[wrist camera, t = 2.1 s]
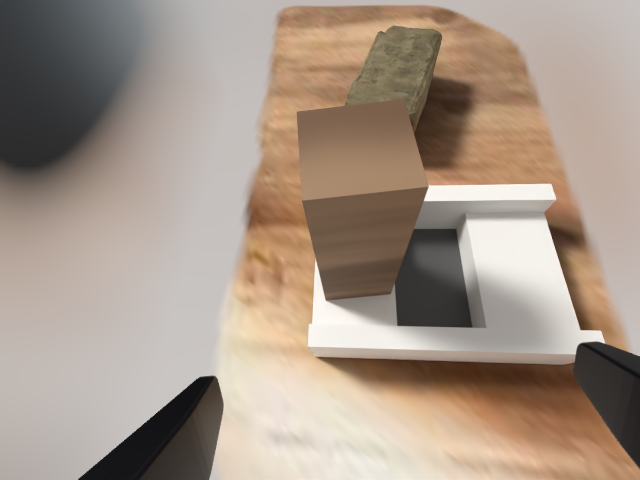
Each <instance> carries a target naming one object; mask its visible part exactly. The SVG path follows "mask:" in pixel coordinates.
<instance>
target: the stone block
mask: <svg viewBox="0 0 640 480" xmlns="http://www.w3.org/2000/svg"><path fill="white" fill-rule="evenodd" d="M441 40H442V35H441V33H440V32H438V31H437V30H434V29H419V28H406V27H400V26H392V27H390V28H389V29H388V30H387V31H386V32H385V33H384V32H382V31H380V32H378V34H377V36H376V38H375V41H374V43H373V45H372V47H371V49H370V51H369V53H368V55H367V57H366V59H365V61H364V64H363V66H362V68H361V70H360V72H359V74H358V75H357V77H356V78H355V80H354V82H353V84H352V86H351V89H350V92H349V94H348V96H347V98H346V103H345V106H350V105H358V104H366V103H374V102H382V101H391V100H399V99H404V100H405V104H406V107H407V111H408V114H409V118H410V122H411V125H412V129H413V132H414V134H415V131H416V128H417V124H418V121H419V118H420V116H421V113H422V111H423V108H424V106H425V103H426V100H427V95H428V91H429V87H430V84H431V80H432V77H433V71H434V67H435V63H436V60H437V56H438V52H439V49H440V45H441Z"/></svg>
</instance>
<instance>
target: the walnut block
mask: <svg viewBox="0 0 640 480" xmlns="http://www.w3.org/2000/svg"><path fill="white" fill-rule="evenodd" d="M297 123H298V140H299V156H300V173H301V189H302V202H303V206H304V210H305V215H306V219H307V223H308V228H309V232H310V236H311V240H312V245H313V249H314V253H315V257H316V262H317V266H318V270H319V274H320V279H321V283H322V287H323V292H324V296H325V300H326V301H327V300H337V299H347V298H357V297H367V296H377V295H388V294H391V292H392V289H393V286H394V284H395V281H396V278H397V275H398V272H399V269H400V267H401V264H402V261H403V258H404V255H405V252H406V250H407V247H408V244H409V241H410V238H411V235H412V233H413V230H414V227H415V224H416V221H417V219H418V216H419V213H420V210H421V207H422V204H423V202H424V199H425V196H426V193H427V190H428V187H429V186H428V182H427V179H426V175H425V172H424V168H423V164H422V161H421V157H420V154H419V150H418V147H417V143H416V139H415V136H414V132H413V129H412V125H411V122H410V118H409V114H408V111H407V107H406V104H405V100H404V99H399V100H391V101H382V102H374V103H366V104H358V105H350V106H341V107H333V108H325V109H317V110H308V111H300V112H297Z"/></svg>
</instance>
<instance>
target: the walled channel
mask: <svg viewBox="0 0 640 480" xmlns="http://www.w3.org/2000/svg"><path fill="white" fill-rule="evenodd" d="M555 201H556V197H555V194H554V191H553V188H552V185H551V184H512V185H449V186H429V187H428V190H427V193H426V196H425V199H424V202H423V204H422V207H421V210H420V213H419V216H418V219H417V221H416V224H415V227H414V230H413V233H412V235H411V238H410V241H409V244H408V247H407V250H406V252H405V255H404V258H403V261H402V264H401V267H400V269H399V272H398V275H397V278H396V281H395V284H394V286H393V289H392V292H391V294H388V295H377V296H367V297H357V298H347V299H337V300H327V301H326V300H325V296H324V292H323V287H322V283H321V279H320V274H319V270H318V266H317V262H316V261H315V280H314V300H313V319H312V324H309V335H308V347H309V349H310V350H311V352H312V353H313V355H314V356H315V357H337V358H368V359H399V360H430V361H461V362H492V363H523V364H554V365H564V364H569V363H574V362H575V356H576V349H577V346H578V345H579V344H580V343H582V342H593V341H598V342H602V343H605V341H604V338H603V336H602V333H601V331H591V330H580V327H579V324H578V320H577V317H576V314H575V311H574V308H573V304H572V301H571V298H570V295H569V292H568V288H567V285H566V282H565V279H564V276H563V272H562V269H561V266H560V263H559V260H558V256H557V253H556V250H555V247H554V244H553V240H552V237H551V234H550V231H549V227H548V224H547V221H546V218H545V215H544V212H545V211H546V210H547V209H548V208H549V207H550V206H551V205H552V204H553V203H554V202H555Z"/></svg>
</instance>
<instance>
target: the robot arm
mask: <svg viewBox="0 0 640 480" xmlns="http://www.w3.org/2000/svg"><path fill="white" fill-rule="evenodd" d="M573 372H574V376H575V379H576V381H577V383H578V384H579V385H580V387H581V388H582V390H583V391H584V393H585V394H586V396H587V397H588V399H589V400H590V402H591V403H592V404H593V406H594V407H595V409H596V410H597V412H598V413H599V415H600V416H601V418H602V419H603V421H604V422H605V424H606V425H607V426H608V428H609V429H610V431H611V432H612V434H613V435H614V436H615V438H616V439H617V441H618V442H619V443H620V445H621V446H622V447H623V449H624V450H625V451H626V452H627V454H628V455H629V456H630V457H631V459H632V460H633V461H634V462H635V464H636V465H637V466H638V467H639V469H640V356H637V355H634V354H632V353H629V352H626V351H624V350H621V349H618V348H615V347H613V346H610V345H607V344H605V343H602V342H598V341H593V342H582V343H580V344H579V345H578V346H577V349H576V356H575V362H574V369H573ZM223 407H224V405H223V398H222V394H221V390H220V386H219V382H218V379H217V378H216V377H215V376H203V377H199V378H198V379H196V380H195V381H194V382H193V383H192V384H190V385H189V386H188V387H187V388H186V389H185V390H183V391H182V392H181V393H180V394H179V395H177V396H176V397H175V398H174V399H173V400H172V401H170V402H169V403H168V404H167V405H166V406H164V407H163V408H162V409H161V410H160V411H158V412H157V413H156V414H155V415H154V416H153V417H151V418H150V419H149V420H148V421H147V422H145V423H144V424H143V425H142V426H141V427H140V428H138V429H137V430H136V431H135V432H134V433H132V435H130V436H129V437H128V438H127V439H125V440H124V441H123V442H122V443H121V444H119V445H118V446H117V447H116V448H115V449H113V450H112V451H111V452H110V453H109V454H108V455H106V456H105V457H104V458H103V459H102V460H100V461H99V462H98V463H97V464H96V465H95V466H93V467H92V468H91V469H90V470H89V471H87V472H86V473H85V474H84V475H83V476H81V477H80V478H79V479H78V480H209V478H210V474H211V470H212V465H213V460H214V455H215V450H216V445H217V440H218V435H219V430H220V425H221V419H222V414H223Z"/></svg>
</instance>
